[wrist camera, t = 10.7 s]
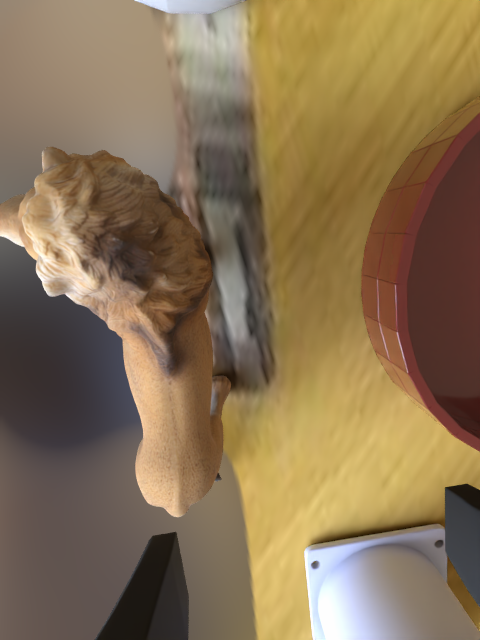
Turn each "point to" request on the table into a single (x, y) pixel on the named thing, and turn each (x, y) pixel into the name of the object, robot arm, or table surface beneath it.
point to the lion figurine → (135, 304)
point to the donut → (190, 5)
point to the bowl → (431, 276)
